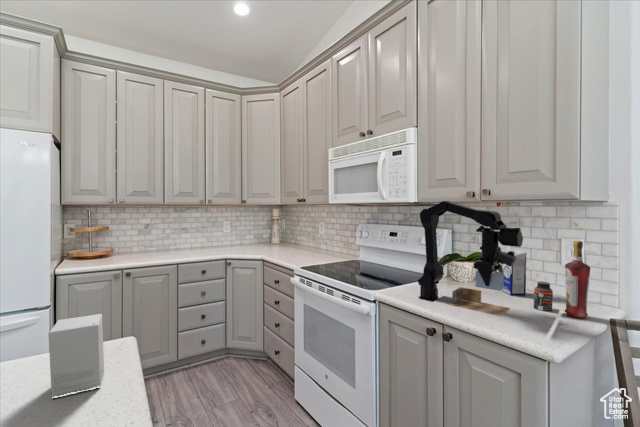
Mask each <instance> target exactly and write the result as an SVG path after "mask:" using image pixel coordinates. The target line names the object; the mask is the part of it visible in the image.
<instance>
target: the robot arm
mask: <svg viewBox="0 0 640 427" xmlns="http://www.w3.org/2000/svg"><path fill="white" fill-rule="evenodd" d="M446 212H448V213H452V214H454V215H458V216H461V217H464V218H465V217H466V218H468V219H471V220H473V221H474V222H476V223H477V224H479V225H480V226H479V227H478V228H477V229H475V232H478V233H481V246H480V247H479V250H481V252H480V253H481V254H480V255H481V257H479V259H478V260H476V261H474V262H473V269H475V270H478V271H479V273H480V275H481V277H482V279H483V281H484V283H485V285H486V286H489V284H490V279H491V274H492V272H494V271H495V272H498V270H499V269H500V268H501V267H502V268H503V264H506V265H507V266H510V267H511V266H512V265H513V264H514V262H515V260H516V257H515V255H514V252H511V251H512V250H508V251H509V252H508V251H507V252H508V253H507V252H505V251H502V248H501V246H506V247H515V248H516V247H517V248H521V247H522V245H523V241H524V236H523V233H522V230H521V227H507V224H506V223H504V221H503V220H502V217H501V214H500V213H499V212H498V211H494V210H486V209H476V208H473V207H468V206H466V205H462V204H459V203H455V202H452V201H449V200H442V201H440V202H439V203H437V204H435V205H432V206H430V207H428V208H424V209H422V210H421V211H420V212H419V218H420V224H421V225H422V227H423V229H424V241H425V242H424V243H425V244H424V245H425V257H426V258H425V259H426V260H425V261H426V262H425V264H424V266H423V272H422V276H421V277H419V278H418V279H417V283H418V285H419V287H420V296H418V299H422V300H426V301H431V302H433V301H435V300H437V299H438V298H439V289H438V284H439V282H440V281H441V280H442V279H443V276H444V275H445V273H444V265H443V264H442V265H441V264H440V263H439V257H438V239H437V238H438V237H437V228H438V226H439V225H438V224H439V221H440V217H441V216H443V215H444V214H445V213H446ZM499 244H501V246H499Z"/></svg>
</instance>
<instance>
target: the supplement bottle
mask: <svg viewBox="0 0 640 427" xmlns="http://www.w3.org/2000/svg"><path fill="white" fill-rule="evenodd" d="M553 296H554V294H553V289H552V288H551V283H549V282H546V281H537V286H536V287H534V290H533V309H534V310H537V311H541V312H552V311H553V300H554V298H553Z"/></svg>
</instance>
